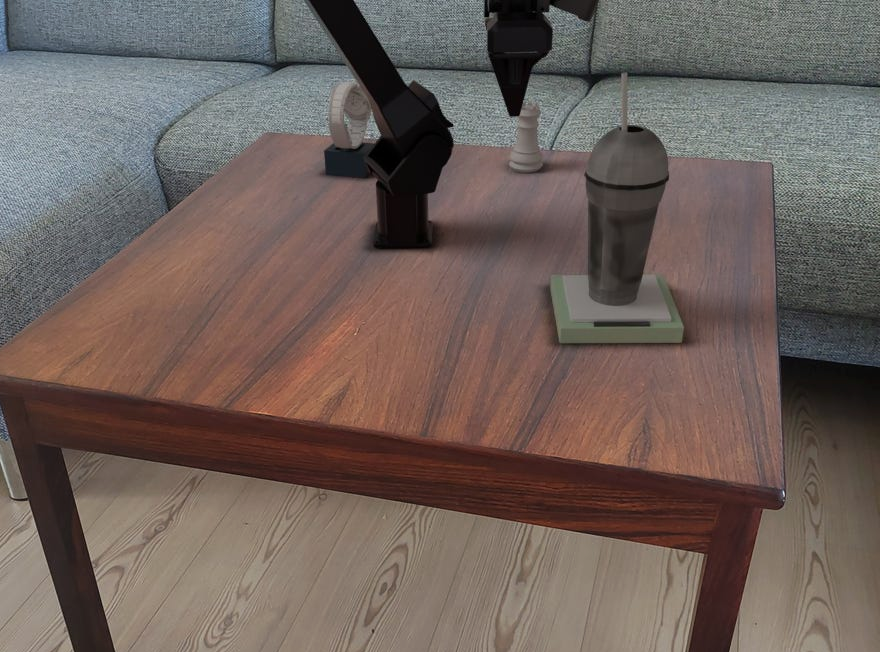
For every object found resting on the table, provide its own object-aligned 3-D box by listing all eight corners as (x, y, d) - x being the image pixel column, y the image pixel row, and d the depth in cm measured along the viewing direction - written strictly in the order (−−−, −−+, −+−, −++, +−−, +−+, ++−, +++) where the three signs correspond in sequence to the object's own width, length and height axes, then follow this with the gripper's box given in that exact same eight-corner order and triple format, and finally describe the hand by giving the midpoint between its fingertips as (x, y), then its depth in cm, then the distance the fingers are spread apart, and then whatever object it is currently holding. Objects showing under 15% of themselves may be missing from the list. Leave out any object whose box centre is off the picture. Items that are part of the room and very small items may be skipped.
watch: (381, 162, 126) (378, 76, 119) (359, 182, 120) (354, 93, 113) (343, 158, 127) (337, 73, 121) (319, 178, 121) (312, 90, 115)
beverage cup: (665, 307, 86) (700, 78, 74) (590, 317, 85) (613, 87, 73) (633, 274, 91) (660, 57, 79) (562, 283, 90) (579, 64, 78)
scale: (681, 343, 84) (685, 323, 83) (559, 343, 85) (561, 324, 84) (661, 288, 93) (663, 270, 92) (550, 289, 94) (551, 271, 93)
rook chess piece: (503, 171, 121) (505, 107, 116) (515, 160, 124) (517, 98, 120) (536, 175, 120) (540, 111, 115) (547, 164, 123) (551, 101, 118)
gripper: (613, -49, 83) (597, 128, 93) (590, -77, 98) (578, 78, 108) (489, -45, 84) (485, 131, 94) (485, -74, 99) (482, 80, 108)
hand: (512, 103), depth 101 cm, fingers open, 9 cm apart
